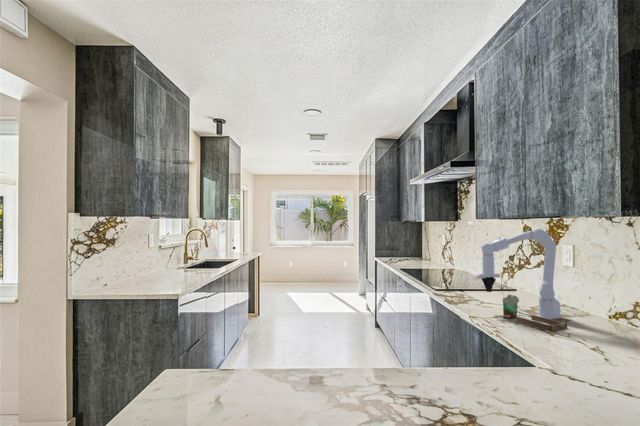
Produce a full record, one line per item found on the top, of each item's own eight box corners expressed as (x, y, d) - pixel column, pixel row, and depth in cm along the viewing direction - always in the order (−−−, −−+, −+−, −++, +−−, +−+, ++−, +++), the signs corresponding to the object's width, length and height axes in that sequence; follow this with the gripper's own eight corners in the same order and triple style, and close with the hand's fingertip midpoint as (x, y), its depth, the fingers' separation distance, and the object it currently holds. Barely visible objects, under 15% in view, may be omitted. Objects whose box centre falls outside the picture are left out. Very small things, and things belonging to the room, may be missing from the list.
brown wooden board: (532, 319, 186) (532, 315, 186) (567, 327, 170) (567, 323, 170) (516, 321, 182) (516, 317, 182) (550, 330, 166) (550, 326, 166)
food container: (516, 320, 183) (516, 299, 184) (502, 318, 187) (502, 298, 187) (521, 315, 193) (521, 295, 193) (508, 313, 197) (507, 294, 197)
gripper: (492, 264, 210) (492, 289, 210) (472, 266, 204) (472, 291, 204) (502, 266, 204) (503, 291, 203) (482, 267, 198) (483, 293, 197)
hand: (488, 291), depth 203 cm, fingers closed
